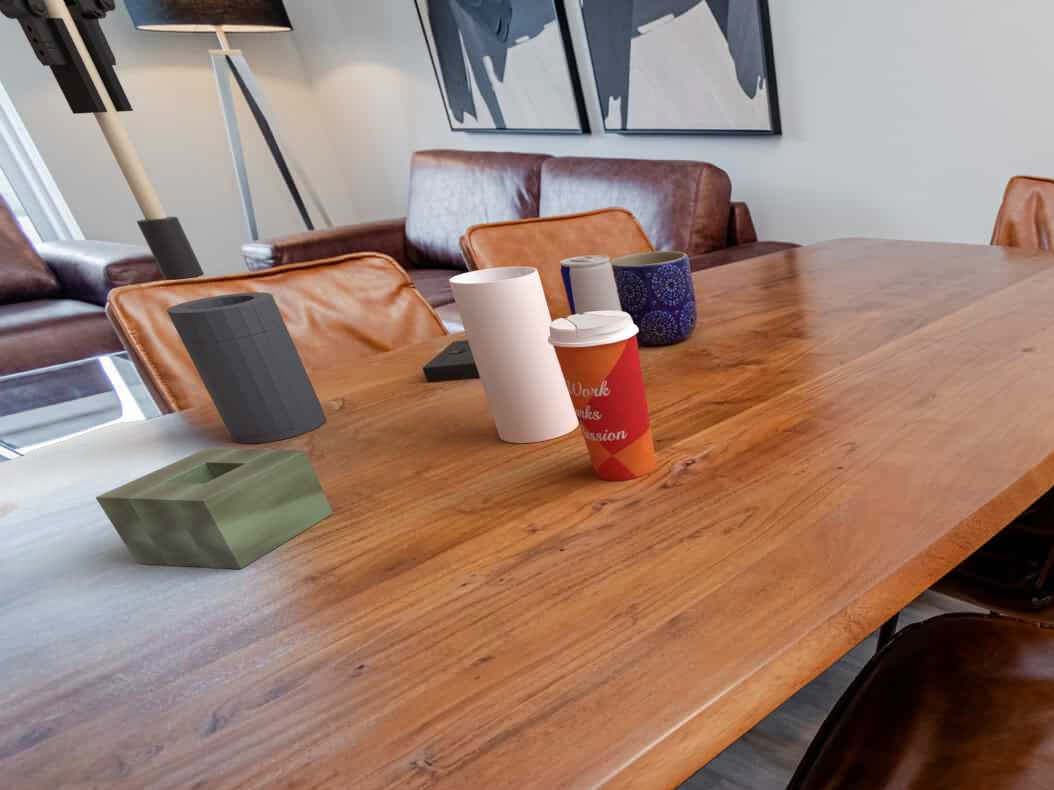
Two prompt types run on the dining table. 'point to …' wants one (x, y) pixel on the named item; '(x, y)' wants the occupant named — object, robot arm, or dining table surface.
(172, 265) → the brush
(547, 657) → the dining table surface
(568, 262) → the beverage can
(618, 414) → the paper cup
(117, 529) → the holder
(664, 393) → the dining table surface
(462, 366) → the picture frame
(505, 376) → the cup
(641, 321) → the planter
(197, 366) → the dark gray cylindrical container
